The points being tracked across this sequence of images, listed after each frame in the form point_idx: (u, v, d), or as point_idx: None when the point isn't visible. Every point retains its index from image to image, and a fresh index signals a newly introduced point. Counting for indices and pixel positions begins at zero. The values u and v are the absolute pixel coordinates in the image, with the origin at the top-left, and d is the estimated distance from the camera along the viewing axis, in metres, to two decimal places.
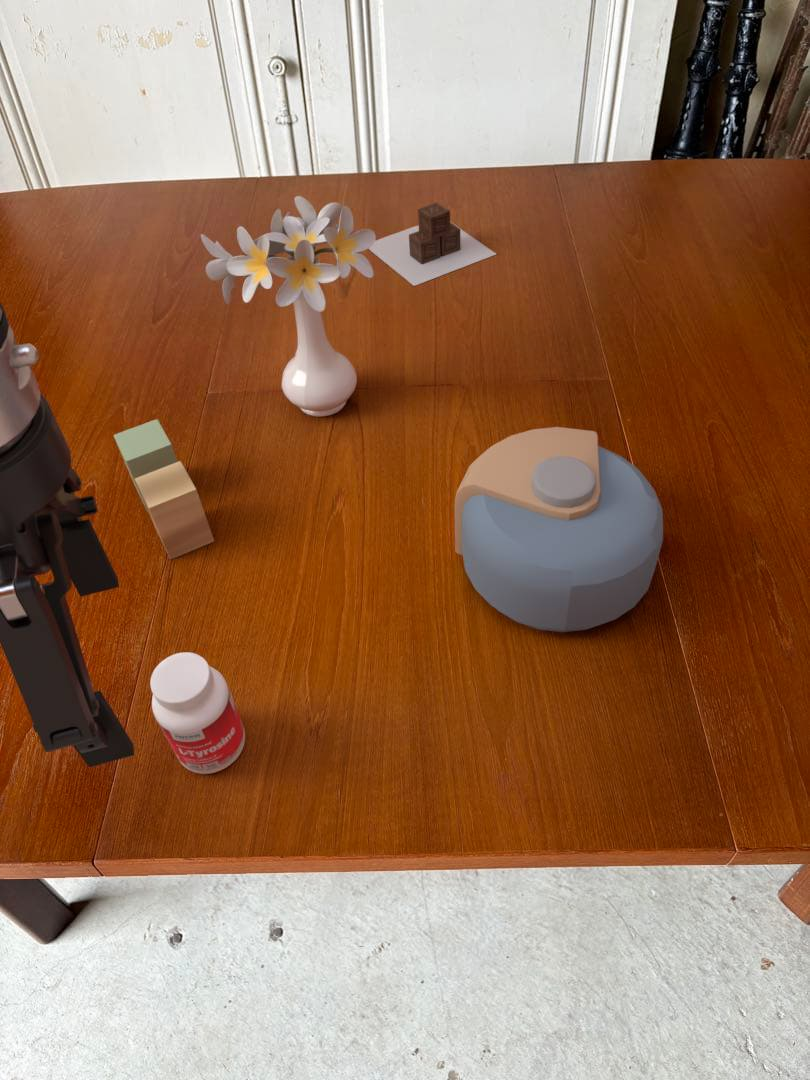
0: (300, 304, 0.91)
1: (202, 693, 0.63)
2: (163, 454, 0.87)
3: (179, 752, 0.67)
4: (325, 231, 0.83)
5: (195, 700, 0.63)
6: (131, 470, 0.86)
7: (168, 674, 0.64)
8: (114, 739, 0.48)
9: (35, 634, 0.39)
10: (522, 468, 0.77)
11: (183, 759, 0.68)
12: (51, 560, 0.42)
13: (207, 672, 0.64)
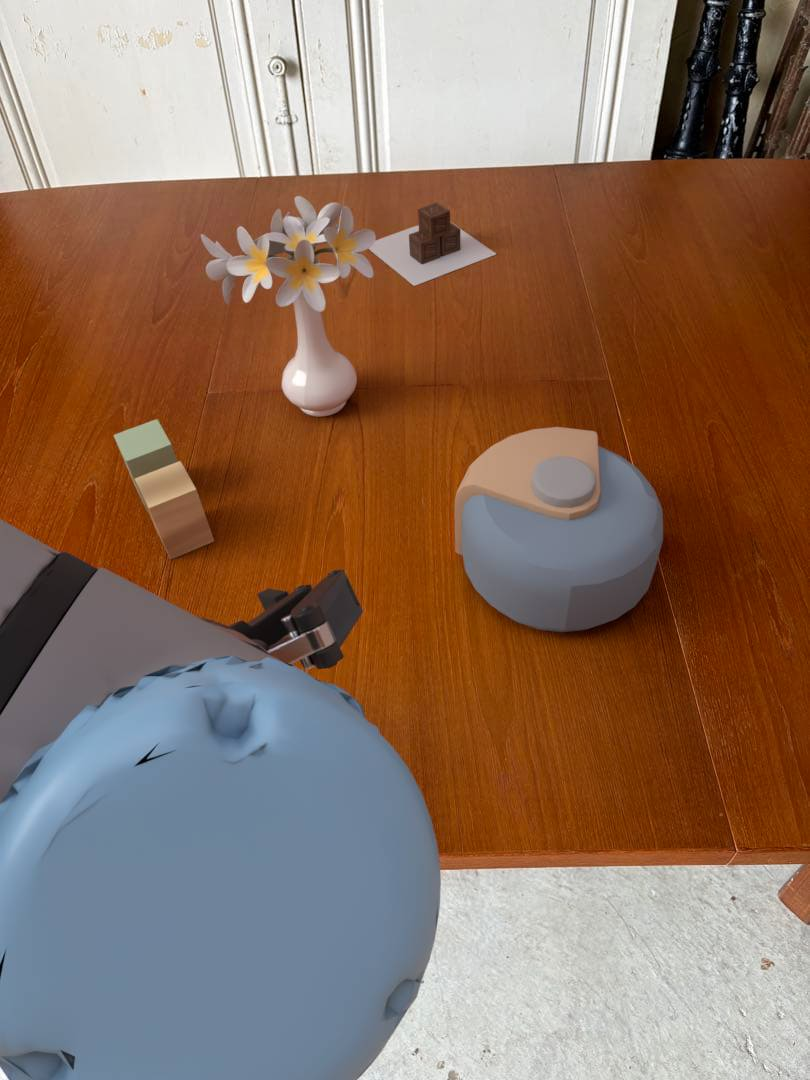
0: (300, 304, 0.91)
1: None
2: (163, 454, 0.87)
3: None
4: (325, 231, 0.83)
5: None
6: (131, 470, 0.86)
7: None
8: None
9: None
10: (522, 467, 0.77)
11: None
12: None
13: None
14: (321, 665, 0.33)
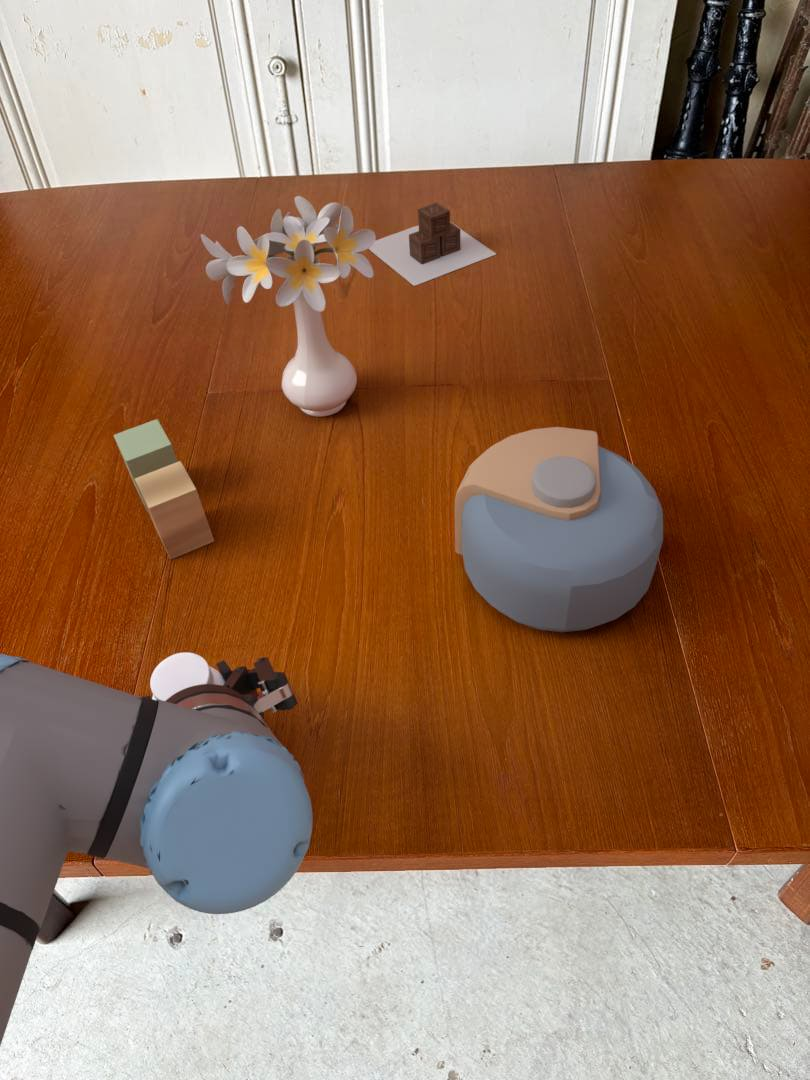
0: (300, 304, 0.91)
1: None
2: (163, 454, 0.87)
3: None
4: (325, 231, 0.83)
5: None
6: (131, 470, 0.86)
7: (167, 674, 0.64)
8: None
9: None
10: (522, 467, 0.77)
11: None
12: None
13: (207, 673, 0.64)
14: (286, 707, 0.57)
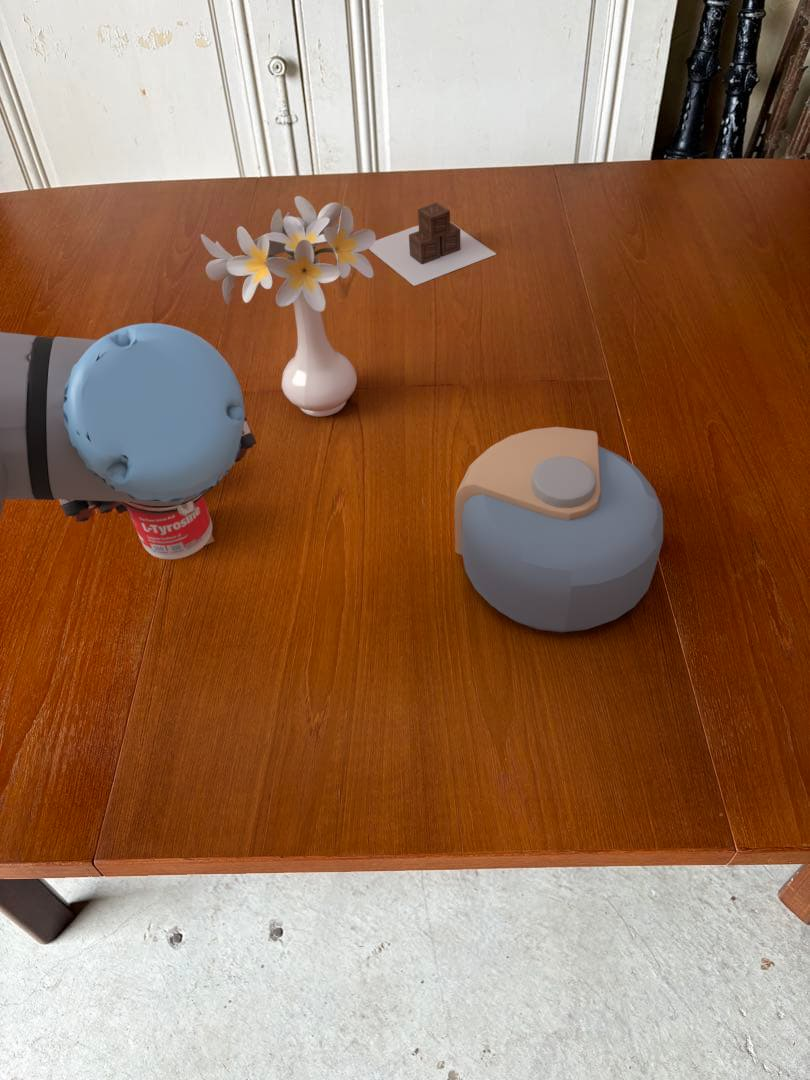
0: (300, 304, 0.91)
1: None
2: None
3: (143, 530, 0.66)
4: (325, 231, 0.83)
5: None
6: None
7: None
8: None
9: None
10: (522, 467, 0.77)
11: (147, 540, 0.67)
12: None
13: None
14: (244, 444, 0.56)
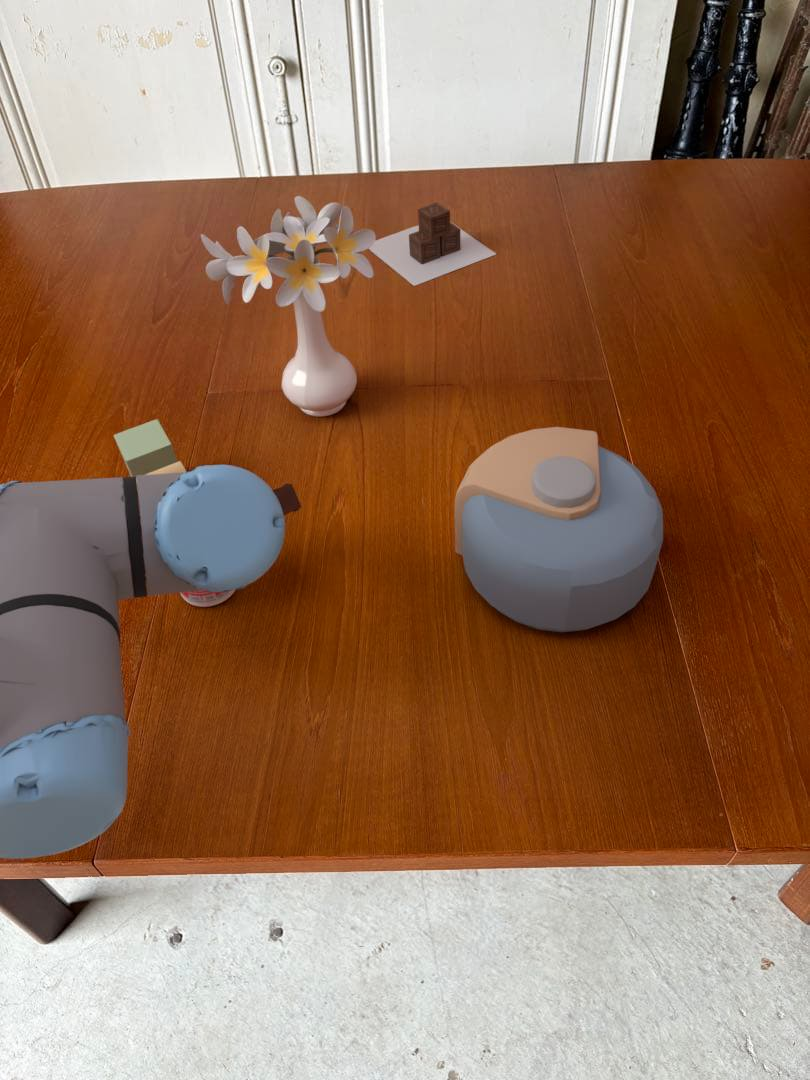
0: (300, 304, 0.91)
1: None
2: (163, 454, 0.87)
3: None
4: (325, 231, 0.83)
5: None
6: (131, 470, 0.86)
7: None
8: None
9: None
10: (522, 467, 0.77)
11: None
12: None
13: None
14: None
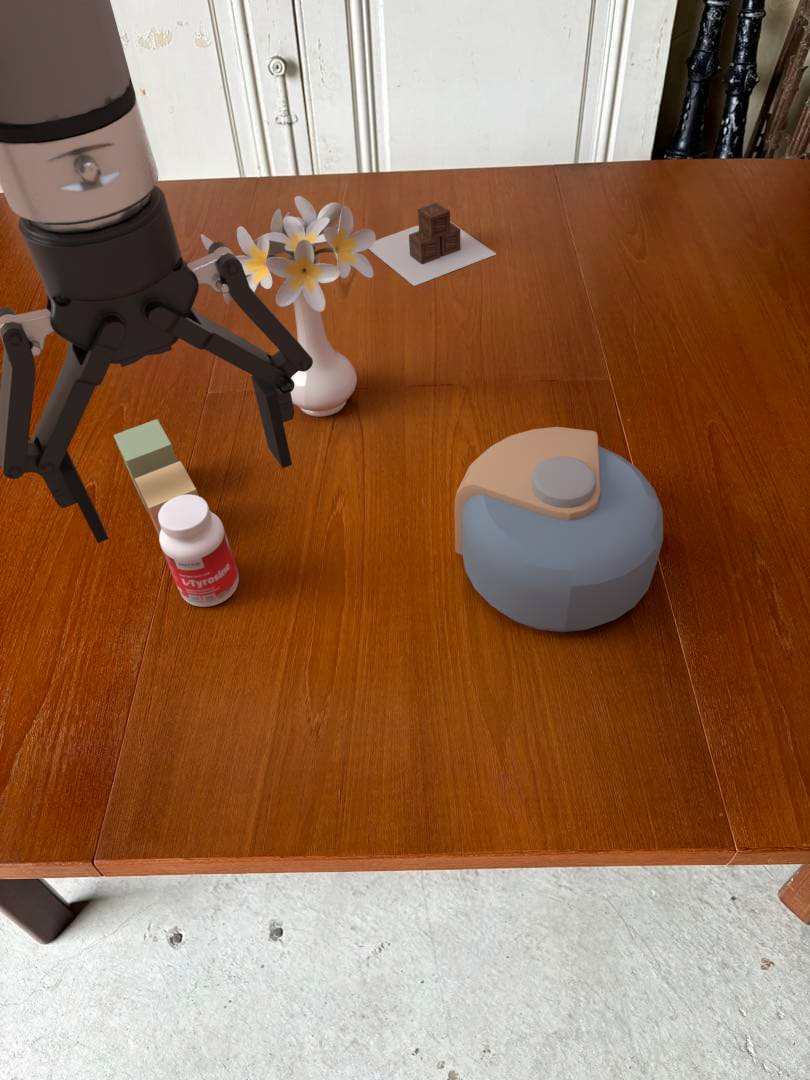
0: (300, 304, 0.91)
1: (201, 524, 0.75)
2: (163, 454, 0.87)
3: (182, 583, 0.79)
4: (325, 231, 0.83)
5: (196, 530, 0.75)
6: (131, 470, 0.86)
7: (173, 510, 0.76)
8: None
9: (8, 371, 0.45)
10: (522, 467, 0.77)
11: (185, 591, 0.80)
12: (89, 350, 0.46)
13: (206, 509, 0.76)
14: (222, 263, 0.47)
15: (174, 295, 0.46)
